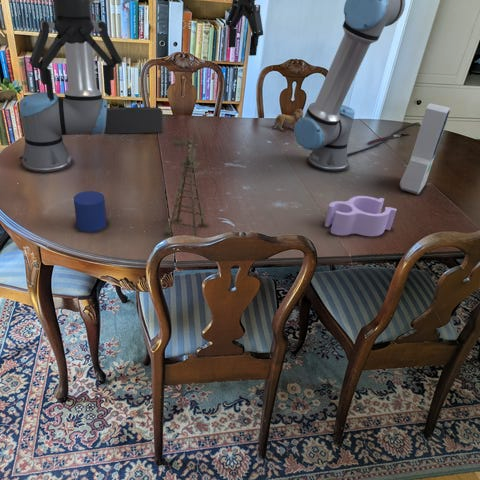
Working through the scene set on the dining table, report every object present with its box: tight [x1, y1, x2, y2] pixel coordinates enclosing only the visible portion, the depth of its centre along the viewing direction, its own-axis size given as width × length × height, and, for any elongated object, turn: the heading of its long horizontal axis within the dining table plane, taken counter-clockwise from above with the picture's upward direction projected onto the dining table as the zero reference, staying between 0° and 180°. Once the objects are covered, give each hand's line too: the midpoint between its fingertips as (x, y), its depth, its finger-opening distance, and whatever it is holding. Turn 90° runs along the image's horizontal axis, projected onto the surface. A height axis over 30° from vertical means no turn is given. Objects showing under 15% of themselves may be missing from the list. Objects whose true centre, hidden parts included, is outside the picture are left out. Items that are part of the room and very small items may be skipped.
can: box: [73, 190, 107, 233], centre depth 128 cm, size 8×8×8 cm
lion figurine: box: [271, 108, 305, 131], centre depth 210 cm, size 15×5×9 cm, turn 110°
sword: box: [367, 132, 409, 145], centre depth 213 cm, size 31×3×1 cm, turn 126°
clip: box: [324, 195, 398, 237], centre depth 141 cm, size 20×12×7 cm, turn 109°
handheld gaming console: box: [104, 106, 164, 134], centre depth 189 cm, size 23×3×10 cm, turn 108°
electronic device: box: [399, 102, 452, 195], centre depth 163 cm, size 12×8×30 cm, turn 148°
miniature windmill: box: [167, 128, 205, 238], centre depth 124 cm, size 9×8×30 cm
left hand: (80, 96), depth 111 cm, fingers open, 13 cm apart
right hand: (241, 51), depth 173 cm, fingers open, 13 cm apart
